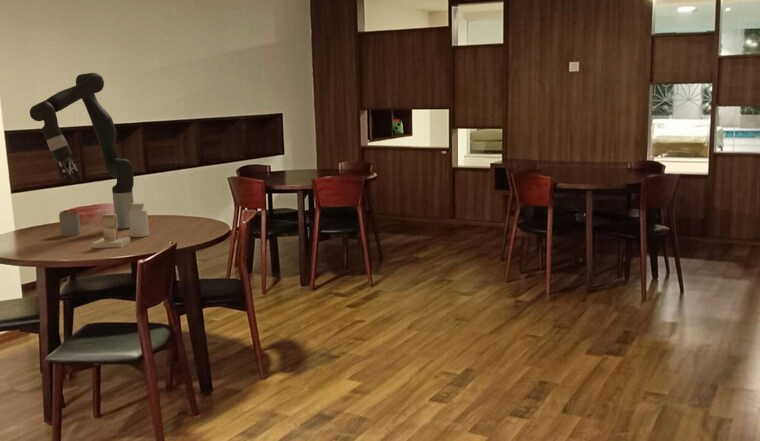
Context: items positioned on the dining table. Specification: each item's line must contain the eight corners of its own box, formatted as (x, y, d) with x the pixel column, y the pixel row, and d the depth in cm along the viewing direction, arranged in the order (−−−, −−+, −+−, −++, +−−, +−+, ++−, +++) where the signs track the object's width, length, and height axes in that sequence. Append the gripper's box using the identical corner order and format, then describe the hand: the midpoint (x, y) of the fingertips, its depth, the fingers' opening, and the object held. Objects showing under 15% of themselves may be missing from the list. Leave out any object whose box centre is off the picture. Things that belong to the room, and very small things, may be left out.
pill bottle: (152, 234, 345) (150, 202, 343) (141, 238, 338) (139, 204, 335) (138, 234, 348) (135, 201, 345) (126, 237, 340) (124, 204, 338)
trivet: (103, 242, 329) (102, 237, 329) (130, 241, 329) (130, 237, 329) (92, 247, 318) (92, 243, 317) (121, 247, 317) (120, 242, 317)
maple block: (108, 239, 325) (105, 214, 324) (118, 238, 325) (116, 213, 324) (104, 241, 321) (102, 215, 319) (114, 240, 321) (112, 215, 319)
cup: (73, 236, 346) (71, 215, 345) (57, 236, 348) (55, 214, 346) (84, 233, 354) (82, 212, 353) (68, 233, 356) (66, 212, 354)
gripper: (61, 146, 319) (78, 181, 322) (73, 142, 333) (89, 176, 336) (44, 152, 319) (61, 187, 323) (57, 148, 333) (73, 182, 336)
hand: (75, 182), depth 329 cm, fingers open, 8 cm apart
